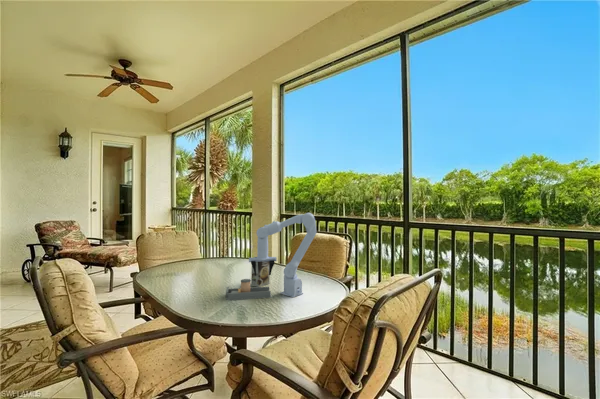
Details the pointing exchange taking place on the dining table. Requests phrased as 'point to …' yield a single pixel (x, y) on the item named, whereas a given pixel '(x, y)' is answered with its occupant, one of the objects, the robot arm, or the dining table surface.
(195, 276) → the dining table surface
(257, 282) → the coffee box
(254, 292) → the tray
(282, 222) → the robot arm
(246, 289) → the jar
